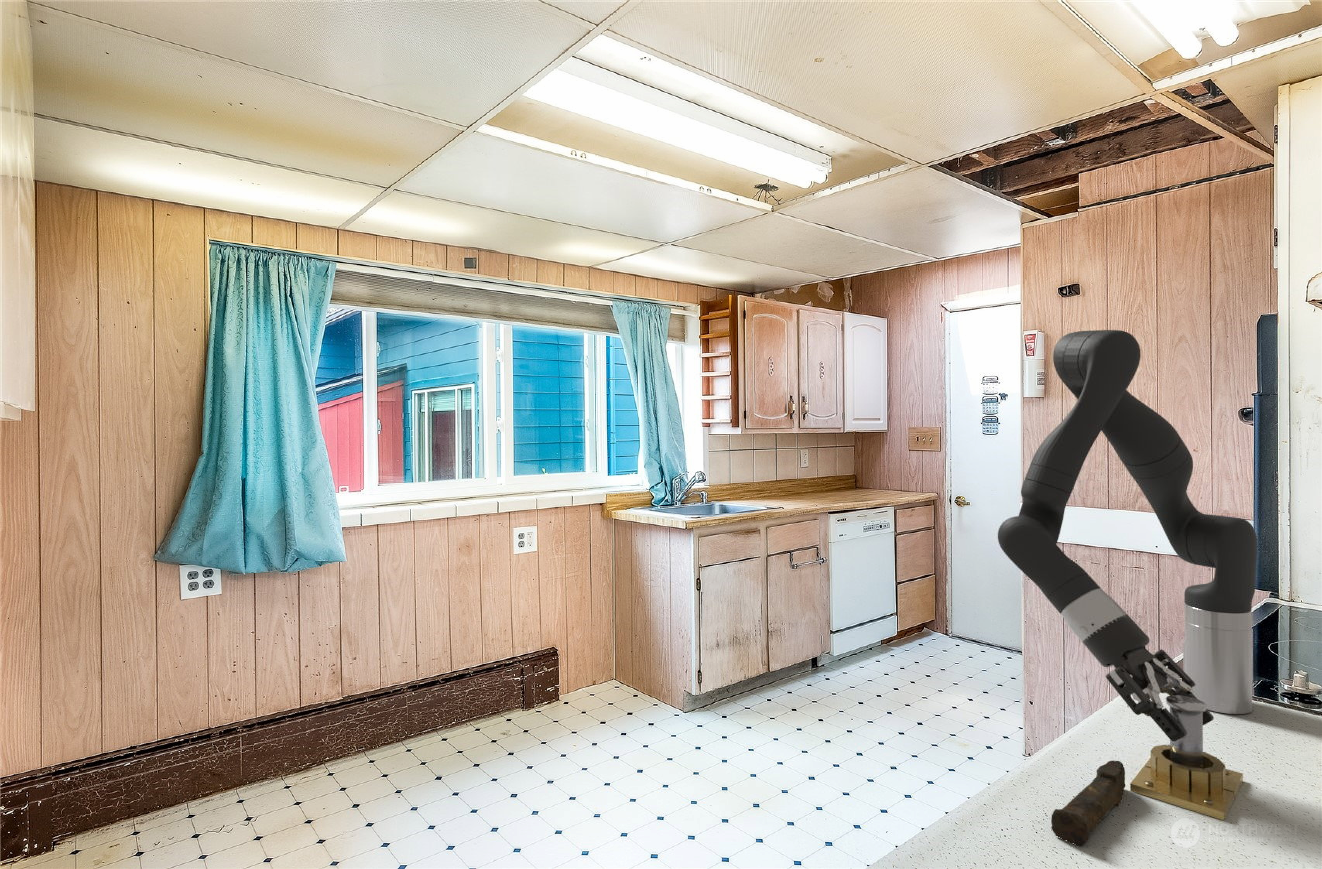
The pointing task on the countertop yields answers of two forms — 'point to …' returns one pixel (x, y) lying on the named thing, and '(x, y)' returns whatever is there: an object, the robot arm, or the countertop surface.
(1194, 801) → the brass socket plate
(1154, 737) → the countertop surface
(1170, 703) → the hinge pin
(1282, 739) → the countertop surface
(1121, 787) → the hand tool
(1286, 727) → the countertop surface
